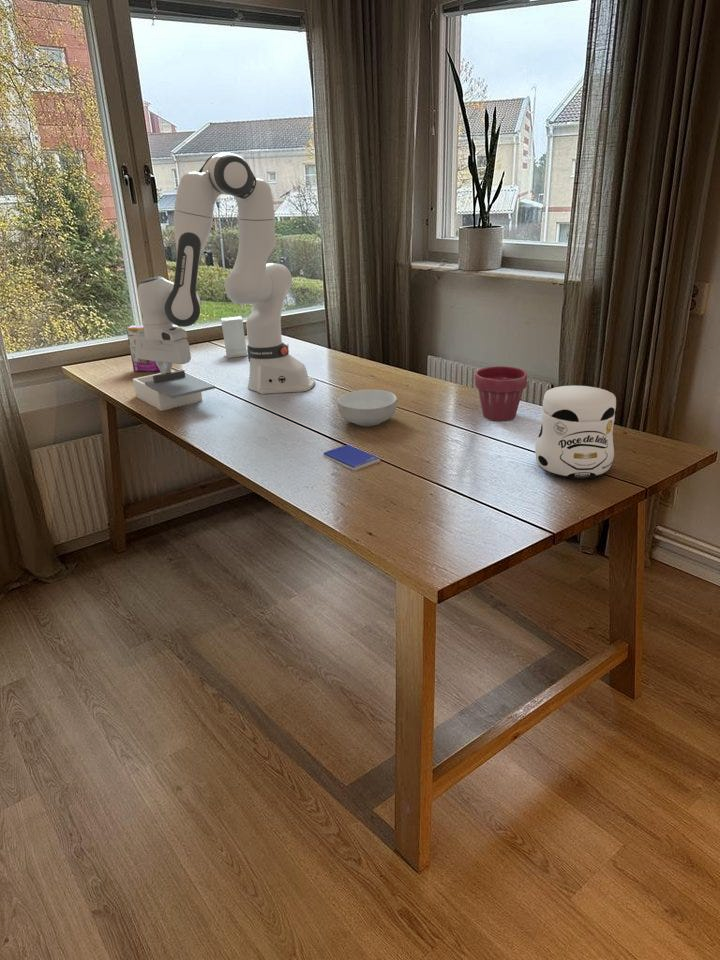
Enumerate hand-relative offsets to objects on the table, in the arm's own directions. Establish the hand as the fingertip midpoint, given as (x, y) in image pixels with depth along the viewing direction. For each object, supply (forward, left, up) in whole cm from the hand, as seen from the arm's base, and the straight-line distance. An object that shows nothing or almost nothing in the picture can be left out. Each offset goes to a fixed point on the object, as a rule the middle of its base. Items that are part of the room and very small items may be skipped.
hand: (166, 374), depth 214 cm
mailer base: (+1, 0, -8) cm, 8 cm away
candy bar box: (+21, -34, -8) cm, 41 cm away
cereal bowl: (-66, +21, -8) cm, 70 cm away
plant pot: (-103, +16, -8) cm, 105 cm away
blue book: (-65, +47, -9) cm, 81 cm away
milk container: (-117, +53, -8) cm, 129 cm away
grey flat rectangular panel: (-7, +7, -2) cm, 10 cm away
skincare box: (-6, -55, -8) cm, 56 cm away
